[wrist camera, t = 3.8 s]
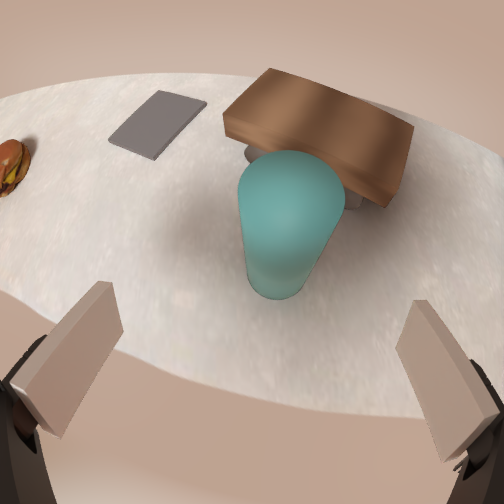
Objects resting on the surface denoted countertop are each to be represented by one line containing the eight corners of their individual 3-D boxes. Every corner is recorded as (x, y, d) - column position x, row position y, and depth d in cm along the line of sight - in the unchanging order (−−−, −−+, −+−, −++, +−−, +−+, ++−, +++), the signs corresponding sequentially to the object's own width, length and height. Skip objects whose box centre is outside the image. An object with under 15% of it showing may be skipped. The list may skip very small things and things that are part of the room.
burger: (4, 158, 32) (-11, 142, 28) (39, 144, 32) (25, 125, 28) (-16, 209, 28) (-34, 195, 24) (18, 199, 29) (-1, 181, 24)
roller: (316, 259, 24) (358, 176, 13) (289, 310, 23) (319, 261, 12) (264, 233, 25) (269, 137, 14) (235, 281, 24) (216, 209, 13)
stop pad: (206, 105, 32) (205, 101, 31) (154, 160, 29) (152, 157, 28) (159, 93, 34) (158, 90, 33) (109, 142, 30) (107, 139, 30)
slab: (394, 162, 28) (414, 126, 23) (373, 223, 26) (398, 189, 20) (268, 107, 32) (269, 67, 26) (228, 155, 29) (222, 113, 23)
